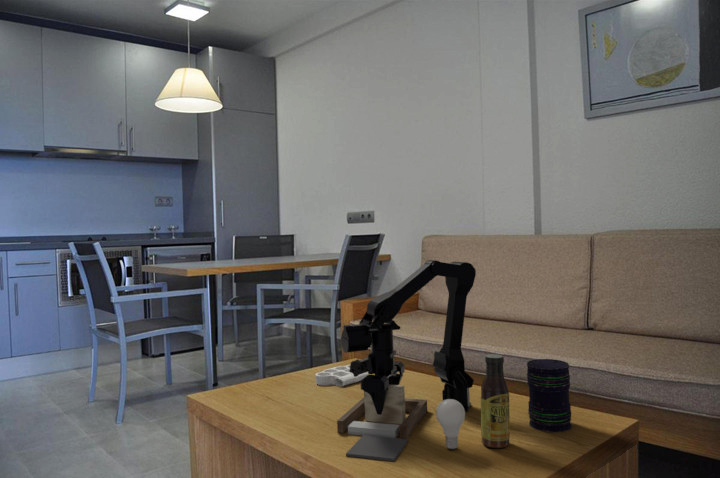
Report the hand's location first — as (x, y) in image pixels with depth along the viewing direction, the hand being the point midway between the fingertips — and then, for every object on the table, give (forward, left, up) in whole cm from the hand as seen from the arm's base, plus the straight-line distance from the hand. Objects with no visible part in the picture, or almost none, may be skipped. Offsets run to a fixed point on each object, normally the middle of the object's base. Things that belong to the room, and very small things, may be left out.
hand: (385, 408), depth 143 cm
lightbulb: (-20, +14, -3) cm, 25 cm away
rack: (0, +1, -3) cm, 3 cm away
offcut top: (0, +9, -3) cm, 9 cm away
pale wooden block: (0, 0, -3) cm, 3 cm away
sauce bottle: (-29, +9, -3) cm, 31 cm away
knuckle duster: (+26, -34, -4) cm, 43 cm away
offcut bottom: (0, +9, -4) cm, 10 cm away
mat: (-4, +18, -3) cm, 19 cm away
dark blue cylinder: (-40, -6, -3) cm, 41 cm away
